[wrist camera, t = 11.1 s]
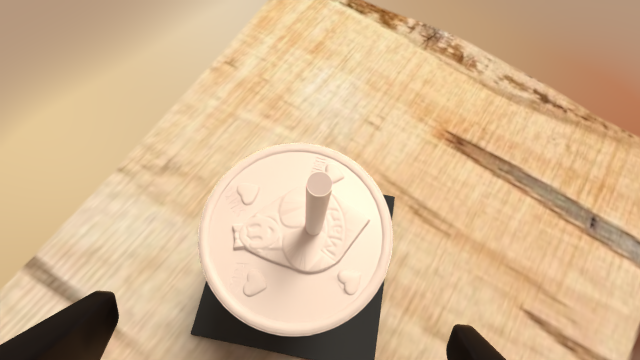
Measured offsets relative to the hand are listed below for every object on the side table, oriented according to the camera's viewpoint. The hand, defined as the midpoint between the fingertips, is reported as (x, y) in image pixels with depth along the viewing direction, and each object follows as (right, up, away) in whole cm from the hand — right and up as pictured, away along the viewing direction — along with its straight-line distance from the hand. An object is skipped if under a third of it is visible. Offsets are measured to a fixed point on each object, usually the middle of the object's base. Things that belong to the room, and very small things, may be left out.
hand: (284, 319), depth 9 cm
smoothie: (0, -1, +11) cm, 11 cm away
